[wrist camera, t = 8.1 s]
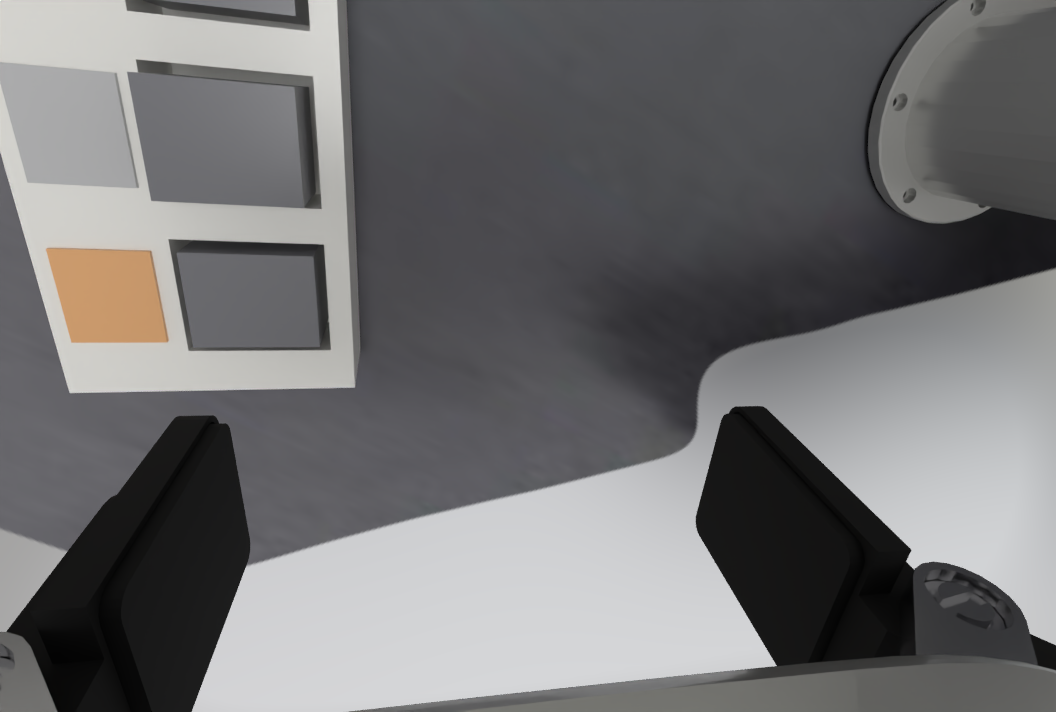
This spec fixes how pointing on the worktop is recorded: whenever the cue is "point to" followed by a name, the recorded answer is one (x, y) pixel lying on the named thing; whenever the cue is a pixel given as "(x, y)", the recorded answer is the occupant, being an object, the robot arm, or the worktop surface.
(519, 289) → the worktop surface
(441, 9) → the worktop surface
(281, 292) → the button
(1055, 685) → the robot arm
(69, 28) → the switch box
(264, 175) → the button
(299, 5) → the button
